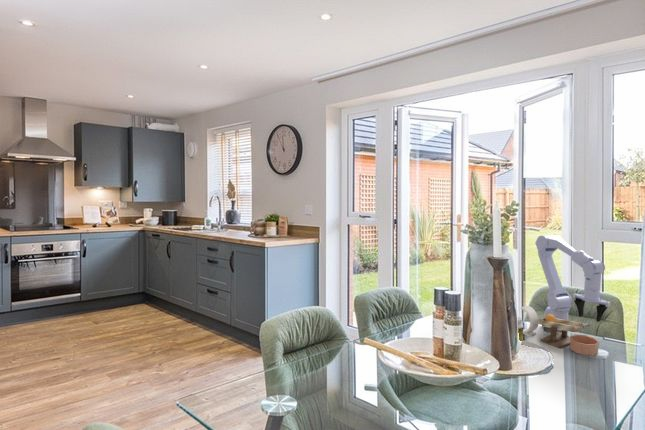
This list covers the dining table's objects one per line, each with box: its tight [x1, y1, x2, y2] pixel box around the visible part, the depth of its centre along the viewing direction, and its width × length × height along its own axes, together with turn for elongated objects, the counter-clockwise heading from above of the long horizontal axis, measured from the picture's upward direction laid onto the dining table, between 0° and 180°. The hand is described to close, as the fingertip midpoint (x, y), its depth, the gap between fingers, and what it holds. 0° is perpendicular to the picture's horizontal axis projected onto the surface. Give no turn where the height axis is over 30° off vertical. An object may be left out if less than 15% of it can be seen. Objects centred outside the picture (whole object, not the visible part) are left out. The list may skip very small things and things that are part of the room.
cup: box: [569, 334, 600, 356], centre depth 184 cm, size 10×10×4 cm
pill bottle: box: [517, 316, 524, 342], centre depth 191 cm, size 6×6×11 cm
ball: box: [545, 314, 555, 322], centre depth 195 cm, size 4×4×4 cm
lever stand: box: [540, 326, 570, 349], centre depth 192 cm, size 9×13×8 cm
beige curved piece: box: [538, 317, 591, 334], centre depth 193 cm, size 16×12×6 cm
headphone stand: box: [520, 305, 540, 337], centre depth 200 cm, size 5×6×12 cm
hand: (589, 318), depth 192 cm, fingers open, 7 cm apart
